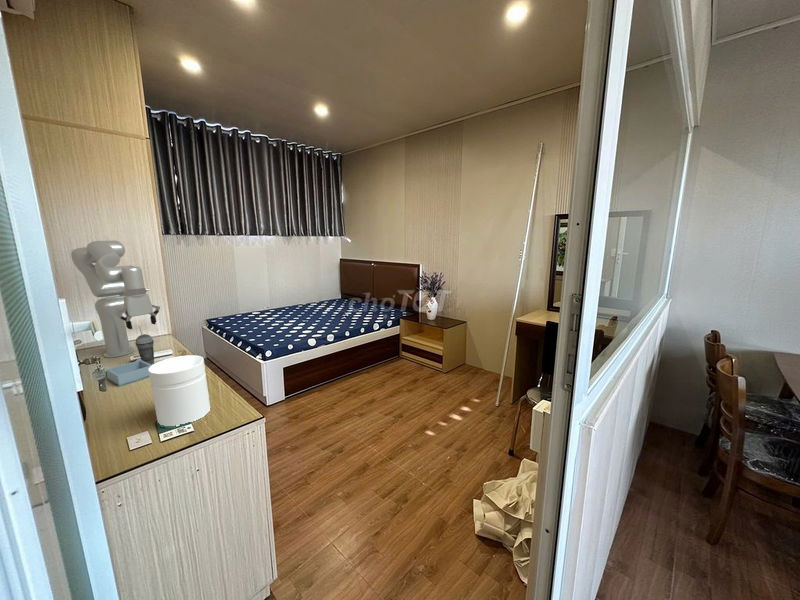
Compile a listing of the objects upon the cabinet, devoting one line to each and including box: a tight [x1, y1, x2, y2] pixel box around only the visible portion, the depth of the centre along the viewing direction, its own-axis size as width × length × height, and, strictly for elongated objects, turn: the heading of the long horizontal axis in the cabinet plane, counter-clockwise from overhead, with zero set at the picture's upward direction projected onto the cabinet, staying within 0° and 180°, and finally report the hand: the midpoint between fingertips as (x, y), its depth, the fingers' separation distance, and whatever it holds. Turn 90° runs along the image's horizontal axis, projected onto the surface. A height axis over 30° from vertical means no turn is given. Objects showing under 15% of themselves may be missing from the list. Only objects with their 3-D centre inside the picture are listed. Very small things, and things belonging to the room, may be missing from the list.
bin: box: [105, 359, 153, 388], centre depth 145 cm, size 13×13×5 cm
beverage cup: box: [134, 325, 155, 365], centre depth 159 cm, size 7×7×20 cm
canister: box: [148, 354, 211, 426], centre depth 113 cm, size 16×16×20 cm
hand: (142, 326), depth 157 cm, fingers open, 9 cm apart
